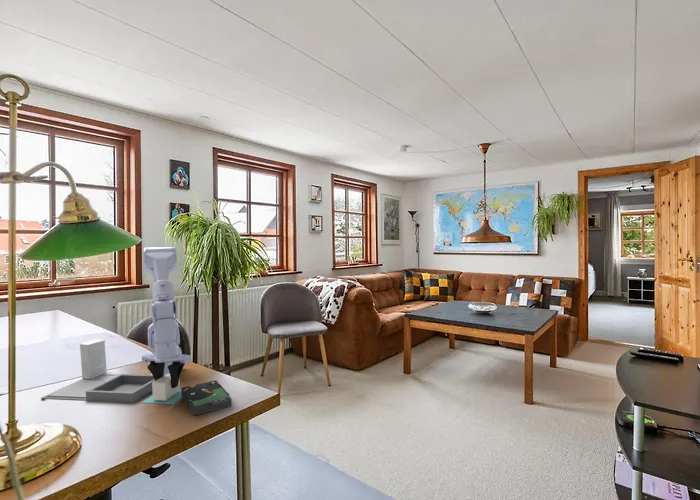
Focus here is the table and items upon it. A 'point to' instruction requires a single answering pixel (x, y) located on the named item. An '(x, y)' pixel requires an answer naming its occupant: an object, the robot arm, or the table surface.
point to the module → (164, 388)
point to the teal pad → (171, 400)
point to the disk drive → (205, 397)
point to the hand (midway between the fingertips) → (167, 386)
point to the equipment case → (107, 389)
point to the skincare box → (93, 358)
